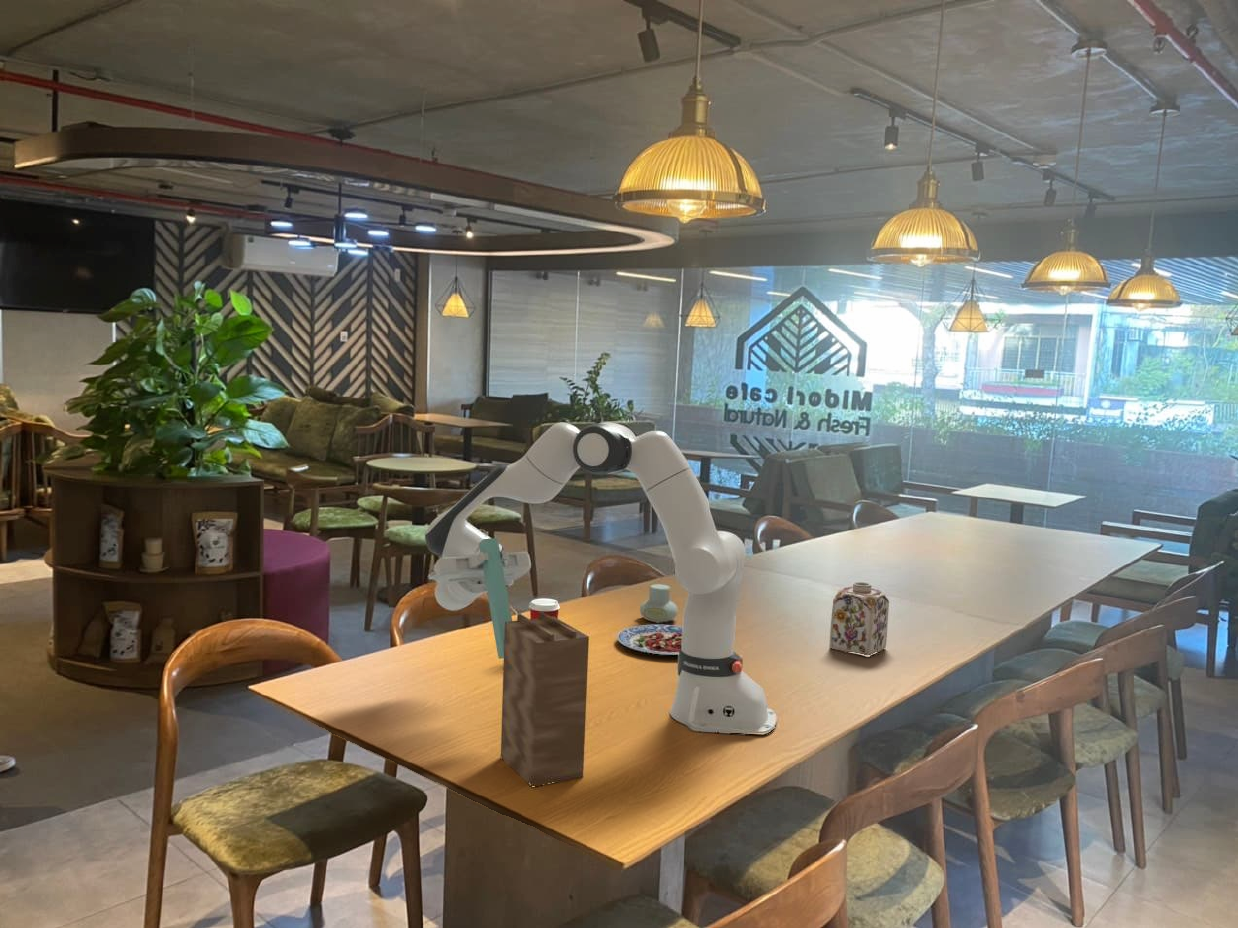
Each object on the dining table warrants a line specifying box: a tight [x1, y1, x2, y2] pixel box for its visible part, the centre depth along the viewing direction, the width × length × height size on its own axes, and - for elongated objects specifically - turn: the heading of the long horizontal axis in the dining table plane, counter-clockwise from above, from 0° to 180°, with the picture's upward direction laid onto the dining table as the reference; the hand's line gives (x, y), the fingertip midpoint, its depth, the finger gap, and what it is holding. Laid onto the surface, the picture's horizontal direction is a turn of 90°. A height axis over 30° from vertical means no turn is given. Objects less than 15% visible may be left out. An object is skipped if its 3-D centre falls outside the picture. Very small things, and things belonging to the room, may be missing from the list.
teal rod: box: [479, 537, 513, 660], centre depth 194 cm, size 24×3×3 cm
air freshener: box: [639, 583, 679, 624], centre depth 278 cm, size 11×8×10 cm
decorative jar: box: [828, 581, 890, 655], centre depth 258 cm, size 12×12×18 cm
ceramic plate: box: [616, 624, 682, 656], centre depth 254 cm, size 26×26×3 cm
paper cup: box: [528, 598, 561, 619], centre depth 240 cm, size 8×8×14 cm
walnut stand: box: [500, 612, 590, 786], centre depth 175 cm, size 14×10×27 cm
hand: (495, 555), depth 195 cm, fingers closed on teal rod, 3 cm apart
